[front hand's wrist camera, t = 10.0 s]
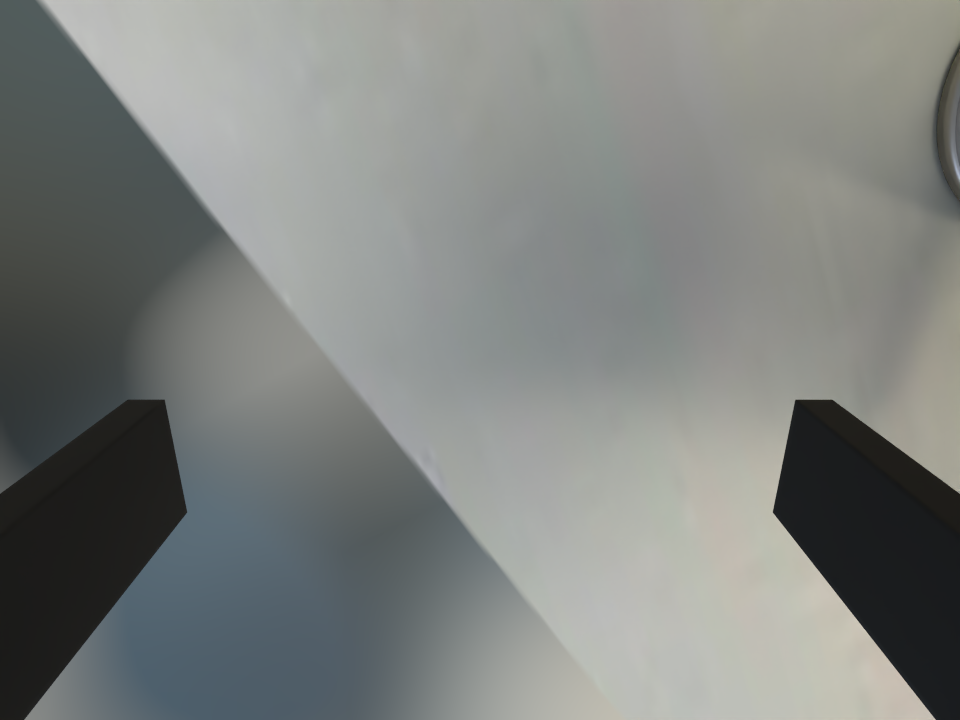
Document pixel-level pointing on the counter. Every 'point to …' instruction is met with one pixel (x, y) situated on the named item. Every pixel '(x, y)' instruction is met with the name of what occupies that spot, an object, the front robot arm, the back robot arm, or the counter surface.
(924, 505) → the front robot arm
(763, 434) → the counter surface
